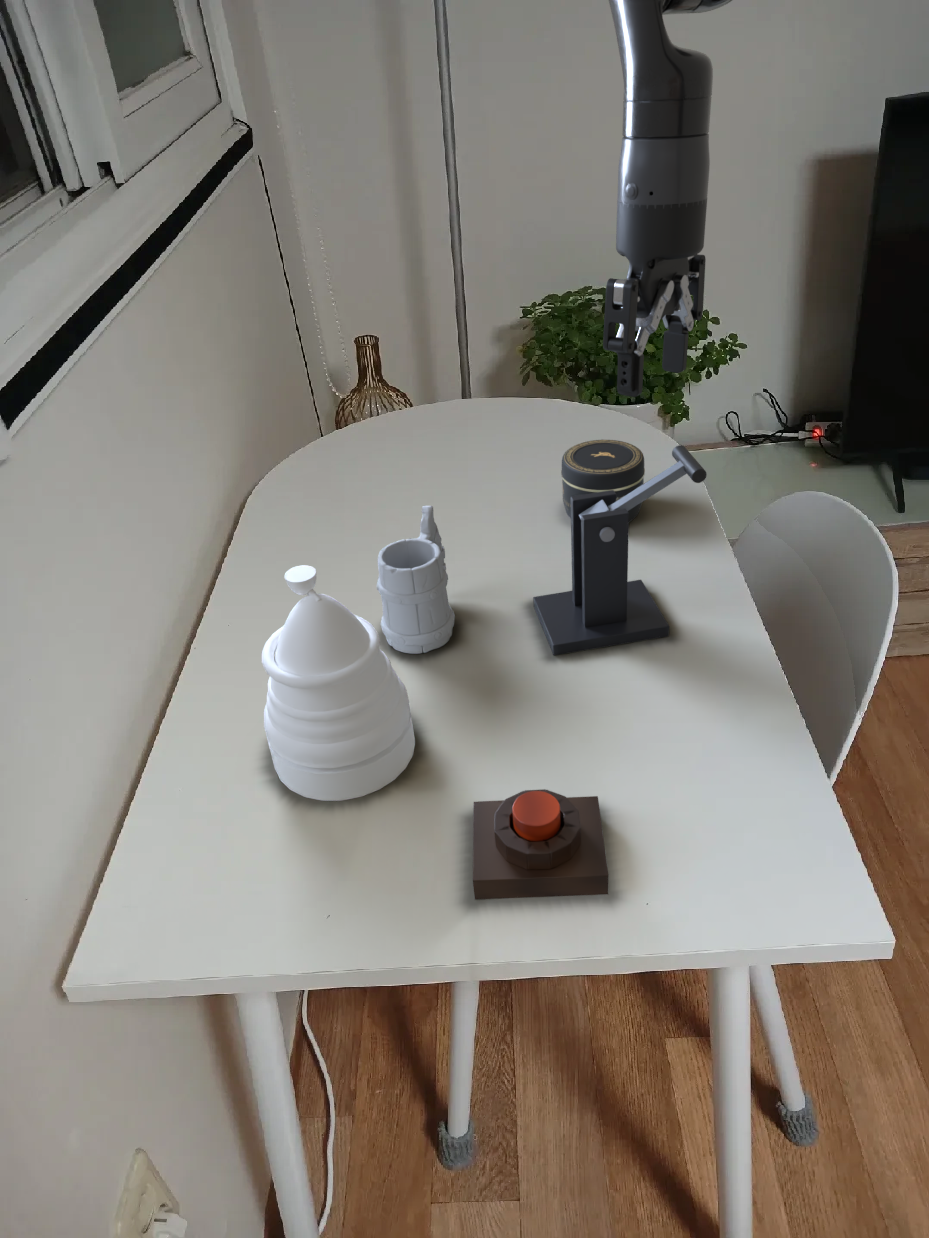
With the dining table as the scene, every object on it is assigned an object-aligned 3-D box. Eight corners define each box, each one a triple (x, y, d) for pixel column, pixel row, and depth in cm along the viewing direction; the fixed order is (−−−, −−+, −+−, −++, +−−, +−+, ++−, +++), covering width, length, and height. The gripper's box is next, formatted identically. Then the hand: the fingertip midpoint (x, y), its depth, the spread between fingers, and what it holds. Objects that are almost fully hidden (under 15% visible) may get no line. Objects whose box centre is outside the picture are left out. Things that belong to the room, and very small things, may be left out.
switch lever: (690, 456, 94) (680, 438, 92) (711, 481, 89) (701, 462, 88) (584, 523, 96) (573, 506, 95) (600, 550, 91) (588, 533, 90)
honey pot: (252, 740, 89) (206, 578, 78) (373, 685, 94) (345, 526, 83) (311, 823, 79) (268, 652, 69) (441, 757, 85) (420, 589, 74)
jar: (556, 497, 122) (554, 443, 118) (632, 488, 123) (634, 433, 118) (570, 536, 114) (569, 479, 110) (652, 526, 114) (654, 469, 110)
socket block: (597, 814, 78) (597, 779, 75) (608, 894, 71) (608, 858, 69) (475, 820, 78) (471, 785, 76) (474, 899, 72) (470, 864, 69)
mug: (371, 651, 98) (354, 551, 92) (412, 589, 108) (399, 494, 101) (441, 660, 96) (429, 559, 89) (476, 596, 105) (468, 500, 98)
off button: (559, 805, 74) (558, 789, 73) (562, 840, 71) (561, 824, 70) (512, 807, 74) (511, 791, 73) (514, 842, 71) (512, 826, 70)
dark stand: (640, 589, 104) (644, 475, 96) (668, 636, 96) (675, 517, 89) (533, 606, 103) (527, 492, 95) (553, 655, 95) (549, 536, 87)
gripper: (661, 208, 74) (651, 410, 82) (739, 185, 83) (723, 369, 92) (579, 204, 78) (577, 397, 86) (662, 183, 88) (653, 358, 96)
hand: (652, 382), depth 89 cm, fingers open, 8 cm apart
